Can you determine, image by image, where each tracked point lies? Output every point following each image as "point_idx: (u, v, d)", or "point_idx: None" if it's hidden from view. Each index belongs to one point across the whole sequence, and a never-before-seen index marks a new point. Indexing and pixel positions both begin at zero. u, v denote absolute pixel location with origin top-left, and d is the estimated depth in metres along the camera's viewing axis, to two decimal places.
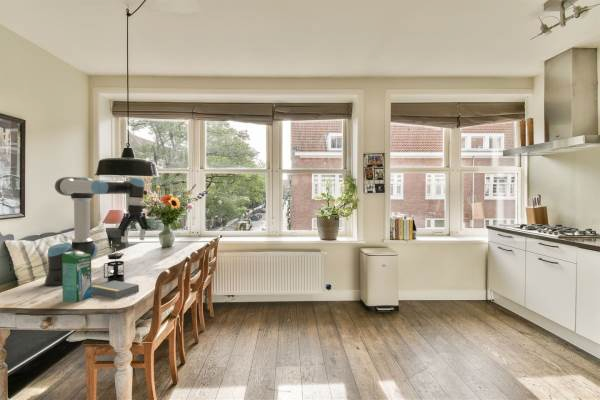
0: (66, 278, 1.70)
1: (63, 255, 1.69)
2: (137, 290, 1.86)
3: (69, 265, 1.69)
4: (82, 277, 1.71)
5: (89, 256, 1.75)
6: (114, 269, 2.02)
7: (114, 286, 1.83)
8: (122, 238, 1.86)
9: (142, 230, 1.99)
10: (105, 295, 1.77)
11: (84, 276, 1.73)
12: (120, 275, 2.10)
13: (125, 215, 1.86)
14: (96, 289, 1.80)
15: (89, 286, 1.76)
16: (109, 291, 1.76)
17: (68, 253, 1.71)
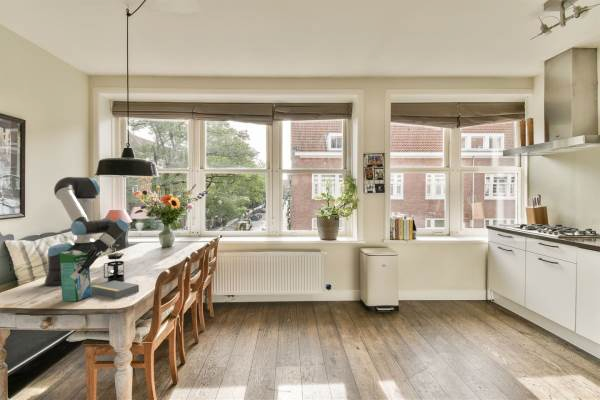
0: (64, 278, 1.70)
1: (60, 255, 1.70)
2: (137, 290, 1.86)
3: (67, 264, 1.69)
4: (80, 276, 1.71)
5: (87, 255, 1.76)
6: (114, 269, 2.02)
7: (114, 286, 1.83)
8: (75, 273, 1.68)
9: None
10: (105, 295, 1.77)
11: (82, 275, 1.73)
12: (120, 275, 2.10)
13: (97, 254, 1.74)
14: (96, 289, 1.80)
15: (88, 285, 1.76)
16: (109, 291, 1.76)
17: (65, 253, 1.71)
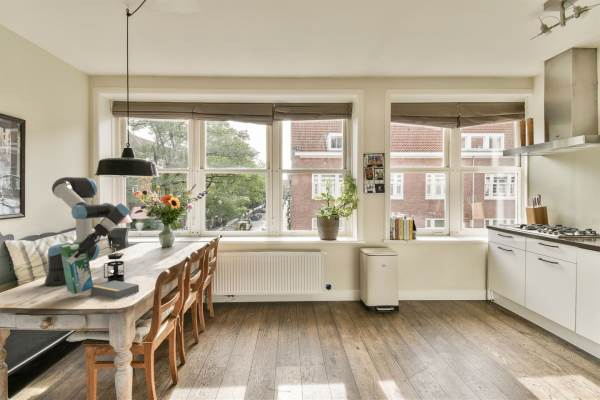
0: (65, 271, 1.74)
1: (60, 248, 1.73)
2: (137, 290, 1.86)
3: (65, 258, 1.72)
4: (78, 270, 1.73)
5: None
6: (114, 269, 2.02)
7: (114, 286, 1.83)
8: (71, 258, 1.70)
9: None
10: (105, 295, 1.77)
11: (80, 269, 1.74)
12: (120, 275, 2.10)
13: (95, 240, 1.73)
14: (96, 289, 1.80)
15: (88, 278, 1.77)
16: (109, 291, 1.76)
17: (65, 246, 1.74)
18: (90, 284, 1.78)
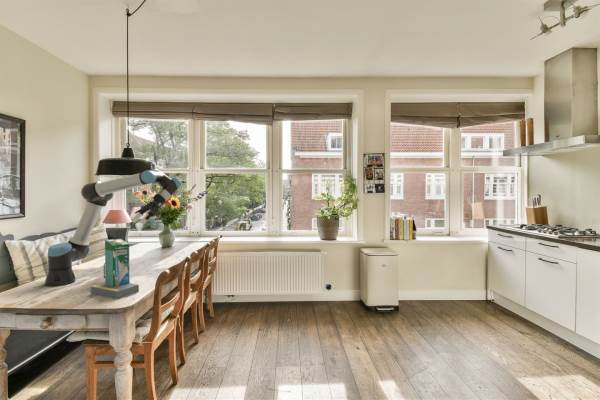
0: (107, 264, 1.85)
1: (105, 242, 1.86)
2: (137, 290, 1.86)
3: (108, 251, 1.84)
4: (119, 264, 1.84)
5: (127, 245, 1.88)
6: None
7: (114, 286, 1.83)
8: (143, 219, 1.95)
9: (140, 214, 2.07)
10: (105, 295, 1.77)
11: (121, 263, 1.85)
12: None
13: (159, 204, 2.02)
14: (96, 289, 1.80)
15: (127, 273, 1.88)
16: (109, 291, 1.76)
17: (110, 241, 1.86)
18: (127, 279, 1.88)
